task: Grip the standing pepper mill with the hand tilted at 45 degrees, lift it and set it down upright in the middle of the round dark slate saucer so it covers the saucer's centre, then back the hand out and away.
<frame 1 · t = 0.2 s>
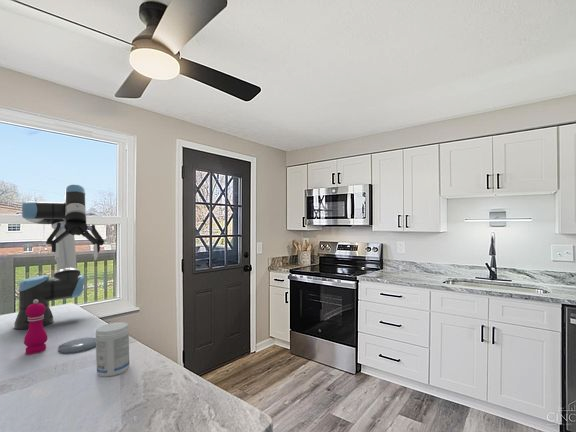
hand: (76, 258, 130), 35 cm above the countertop, tool tilted 30°, fingers open, 13 cm apart
saucer: (79, 346, 127), on the countertop
pepper mill: (35, 351, 123), on the countertop
supplement tub: (113, 371, 105), on the countertop
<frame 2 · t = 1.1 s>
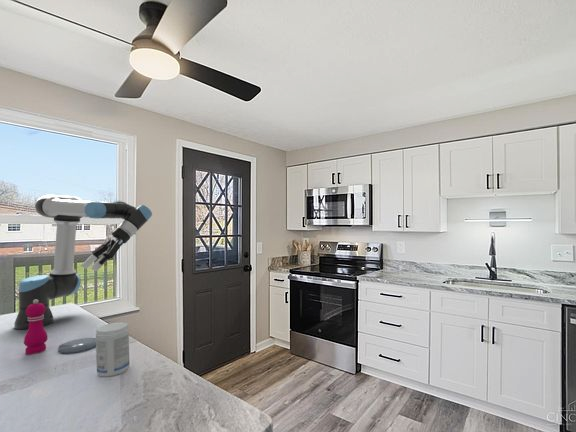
hand: (88, 268, 136), 30 cm above the countertop, tool tilted 45°, fingers open, 13 cm apart
nothing on the countertop moved.
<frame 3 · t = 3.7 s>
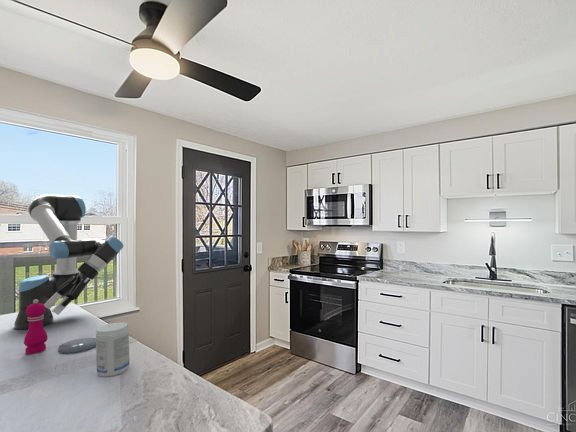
hand: (50, 310, 126), 15 cm above the countertop, tool tilted 45°, fingers open, 13 cm apart
nothing on the countertop moved.
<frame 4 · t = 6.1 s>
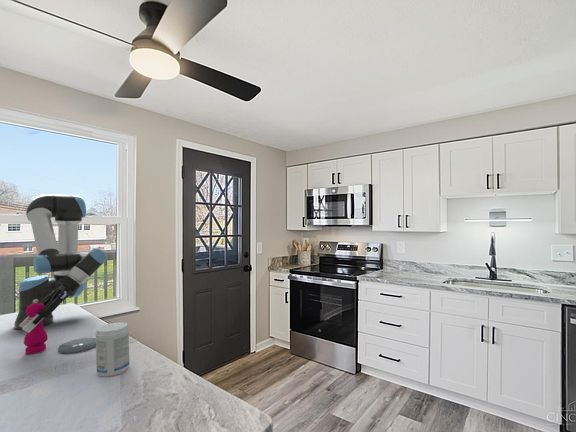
hand: (23, 329, 121), 9 cm above the countertop, tool tilted 45°, fingers closed on pepper mill, 6 cm apart
pepper mill: (35, 351, 123), on the countertop, touching gripper
everything else where it was.
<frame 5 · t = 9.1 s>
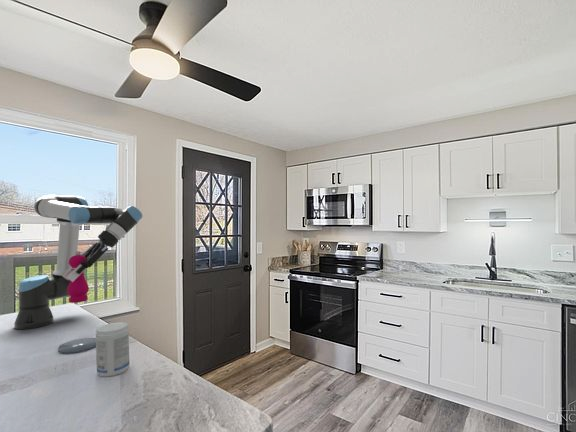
hand: (67, 278, 125), 28 cm above the countertop, tool tilted 45°, fingers closed on pepper mill, 6 cm apart
pepper mill: (78, 301, 127), point 18 cm above the countertop, touching gripper
everything else where it was.
when the fingers open (11 cm above the countertop, at t = 12.5 s): pepper mill stays where it is, resting on saucer.
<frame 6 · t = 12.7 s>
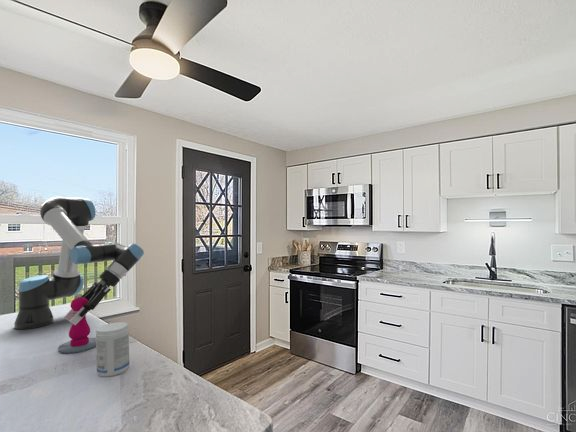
hand: (69, 321, 125), 11 cm above the countertop, tool tilted 45°, fingers open, 7 cm apart
pepper mill: (79, 344, 127), point 1 cm above the countertop, touching saucer
everything else where it was.
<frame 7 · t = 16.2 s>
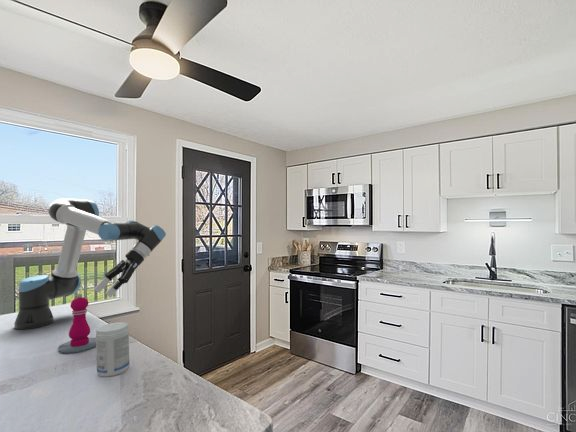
hand: (101, 293, 133), 20 cm above the countertop, tool tilted 45°, fingers open, 13 cm apart
nothing on the countertop moved.
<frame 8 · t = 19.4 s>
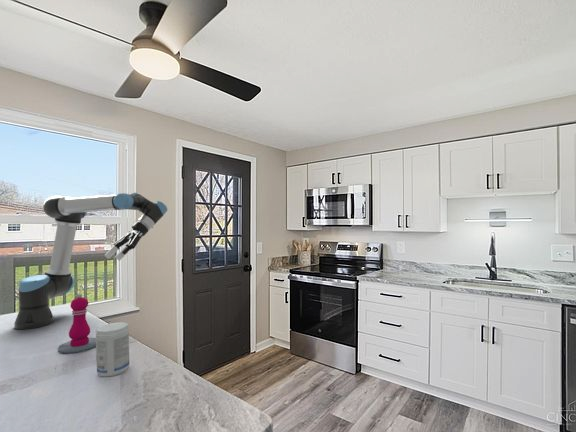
hand: (111, 258, 151), 33 cm above the countertop, tool tilted 45°, fingers open, 13 cm apart
nothing on the countertop moved.
at the end: pepper mill 0.0 cm from the saucer (horizontally); pepper mill tilted 0°; pepper mill touching saucer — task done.
